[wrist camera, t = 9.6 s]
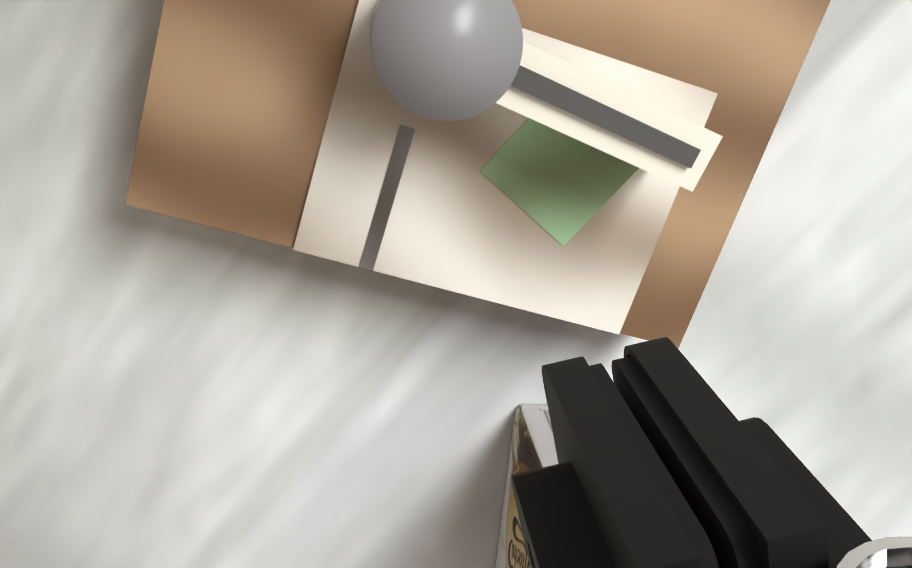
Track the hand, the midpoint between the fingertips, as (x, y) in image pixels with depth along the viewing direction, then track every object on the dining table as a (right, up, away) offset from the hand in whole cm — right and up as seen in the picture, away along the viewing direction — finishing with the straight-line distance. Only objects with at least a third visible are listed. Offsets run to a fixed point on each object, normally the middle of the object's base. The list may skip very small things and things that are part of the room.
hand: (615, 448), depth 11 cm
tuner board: (-1, +11, +18) cm, 21 cm away
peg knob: (0, +9, +15) cm, 18 cm away
